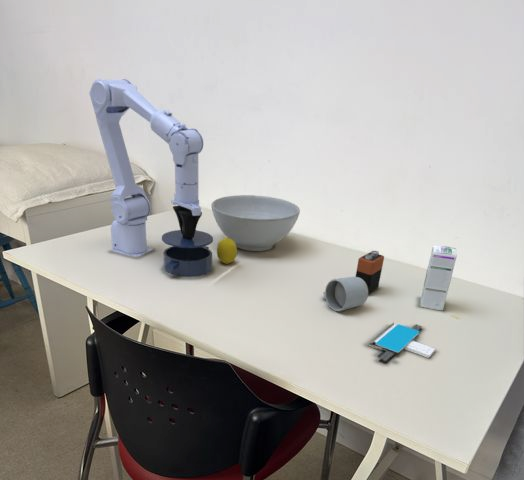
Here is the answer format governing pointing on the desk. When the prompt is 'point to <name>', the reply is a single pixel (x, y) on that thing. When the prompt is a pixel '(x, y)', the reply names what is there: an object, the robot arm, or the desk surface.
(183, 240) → the pot lid
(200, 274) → the pot
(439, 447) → the desk surface
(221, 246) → the lemon
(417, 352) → the blue flat gadget
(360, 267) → the battery
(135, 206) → the robot arm
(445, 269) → the syrup box
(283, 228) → the decorative bowl
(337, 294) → the ceramic mug
